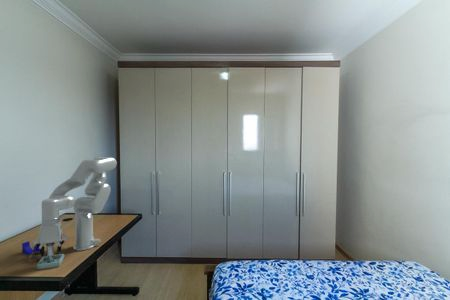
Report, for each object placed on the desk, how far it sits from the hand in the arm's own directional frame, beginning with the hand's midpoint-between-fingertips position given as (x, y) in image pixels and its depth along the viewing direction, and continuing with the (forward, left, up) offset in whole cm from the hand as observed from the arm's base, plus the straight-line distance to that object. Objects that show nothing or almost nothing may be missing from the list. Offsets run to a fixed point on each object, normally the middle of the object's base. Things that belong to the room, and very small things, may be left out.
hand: (50, 253), depth 129 cm
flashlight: (0, 0, -5) cm, 5 cm away
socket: (+9, -9, -6) cm, 14 cm away
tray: (0, 0, -6) cm, 6 cm away
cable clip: (+14, -18, -6) cm, 23 cm away
